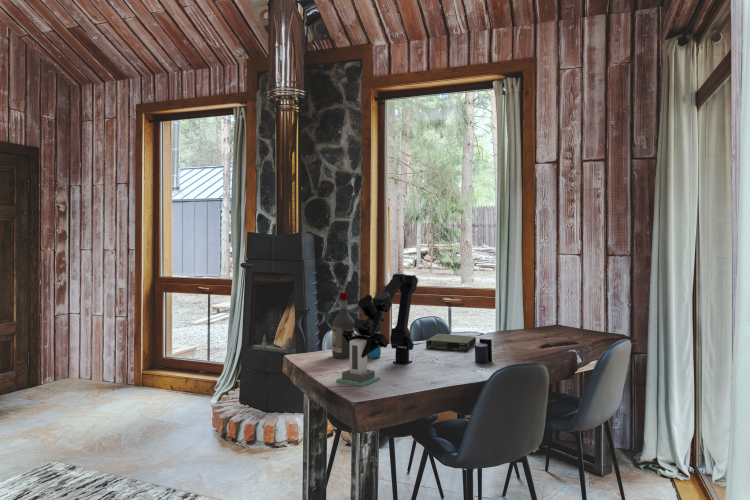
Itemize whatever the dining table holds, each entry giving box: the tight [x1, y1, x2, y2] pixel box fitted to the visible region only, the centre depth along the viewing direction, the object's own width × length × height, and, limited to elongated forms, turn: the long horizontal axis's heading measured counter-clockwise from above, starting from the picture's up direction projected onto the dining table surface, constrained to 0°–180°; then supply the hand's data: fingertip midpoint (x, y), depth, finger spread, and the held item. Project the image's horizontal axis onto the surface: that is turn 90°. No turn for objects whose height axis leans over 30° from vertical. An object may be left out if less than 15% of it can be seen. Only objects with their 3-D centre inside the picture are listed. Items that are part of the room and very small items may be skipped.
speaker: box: [474, 338, 493, 365], centre depth 218 cm, size 8×6×10 cm
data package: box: [357, 331, 382, 359], centre depth 231 cm, size 12×4×12 cm, turn 40°
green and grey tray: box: [336, 368, 381, 387], centre depth 187 cm, size 12×12×4 cm
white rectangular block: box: [349, 339, 368, 375], centre depth 188 cm, size 5×5×13 cm
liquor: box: [331, 291, 356, 360], centre depth 229 cm, size 9×9×30 cm
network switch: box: [425, 333, 477, 353], centre depth 253 cm, size 23×23×5 cm
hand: (356, 356), depth 186 cm, fingers closed on white rectangular block, 5 cm apart
